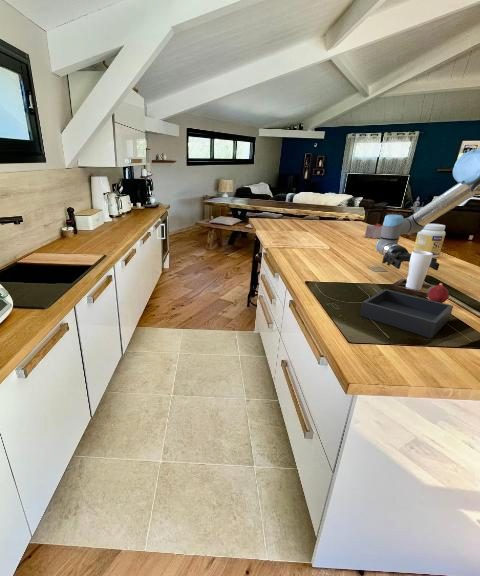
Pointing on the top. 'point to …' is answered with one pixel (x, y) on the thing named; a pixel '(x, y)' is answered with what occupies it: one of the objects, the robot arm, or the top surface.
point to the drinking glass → (418, 269)
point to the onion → (438, 293)
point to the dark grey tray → (407, 312)
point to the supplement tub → (430, 239)
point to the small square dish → (409, 290)
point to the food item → (374, 231)
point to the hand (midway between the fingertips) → (418, 266)
